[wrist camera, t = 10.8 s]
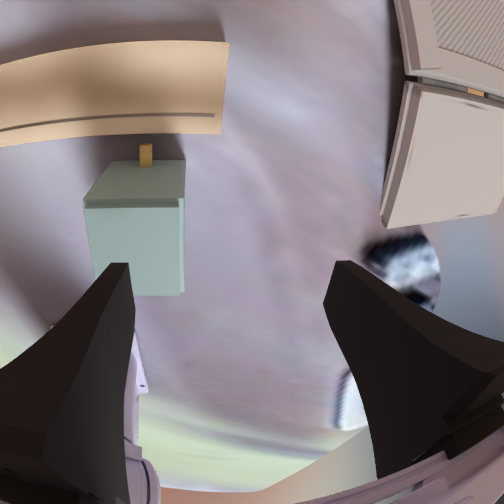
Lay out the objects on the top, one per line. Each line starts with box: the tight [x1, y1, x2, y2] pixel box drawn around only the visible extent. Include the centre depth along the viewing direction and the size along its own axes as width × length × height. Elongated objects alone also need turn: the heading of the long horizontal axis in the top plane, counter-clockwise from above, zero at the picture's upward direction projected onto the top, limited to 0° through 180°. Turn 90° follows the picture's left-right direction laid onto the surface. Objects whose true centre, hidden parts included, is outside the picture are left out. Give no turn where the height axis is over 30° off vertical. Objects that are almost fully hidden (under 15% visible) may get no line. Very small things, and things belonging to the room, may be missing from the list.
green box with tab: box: [83, 144, 186, 296], centre depth 16 cm, size 6×4×6 cm
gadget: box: [380, 0, 504, 229], centre depth 16 cm, size 23×15×4 cm, turn 4°
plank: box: [0, 40, 230, 147], centre depth 13 cm, size 5×22×2 cm, turn 84°
